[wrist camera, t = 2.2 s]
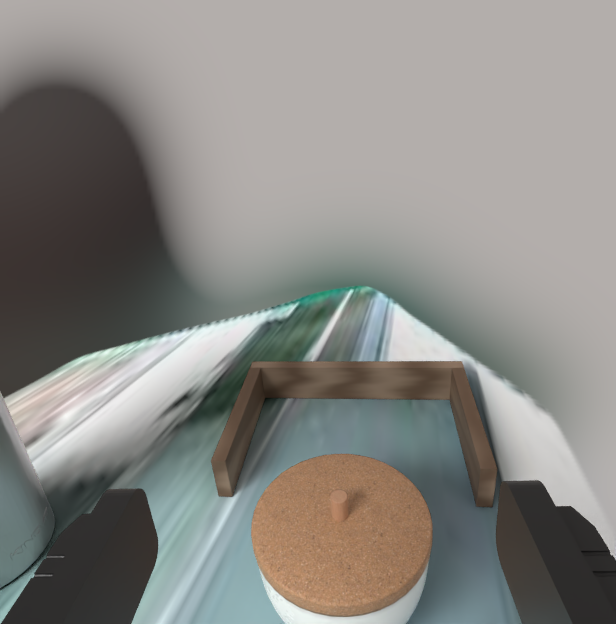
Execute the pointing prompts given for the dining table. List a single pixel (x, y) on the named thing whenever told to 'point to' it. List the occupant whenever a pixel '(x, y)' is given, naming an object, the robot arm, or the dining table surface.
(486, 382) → the dining table surface
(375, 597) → the lidded jar
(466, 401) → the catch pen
